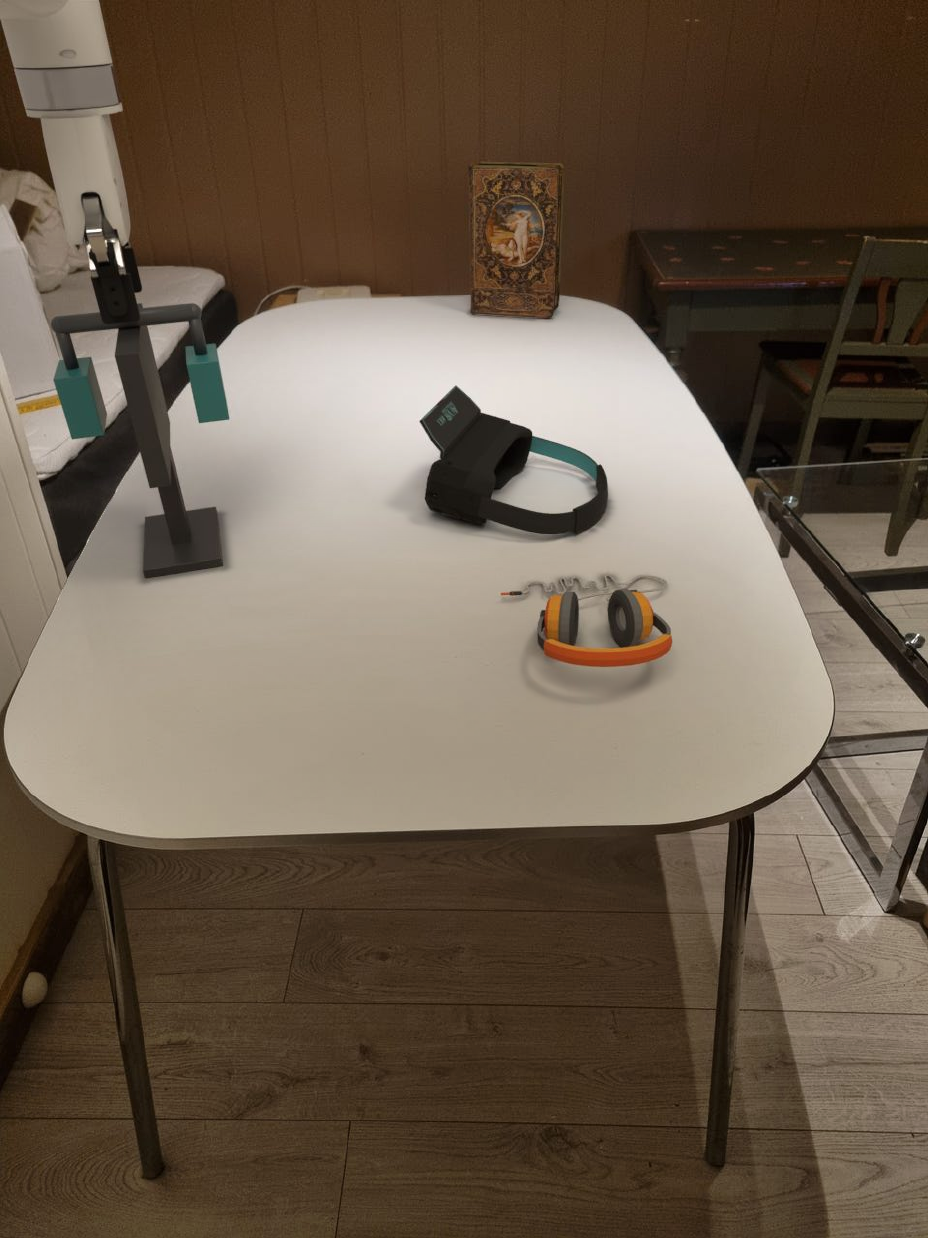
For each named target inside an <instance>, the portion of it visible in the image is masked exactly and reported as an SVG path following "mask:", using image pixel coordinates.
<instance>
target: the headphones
mask: <svg viewBox="0 0 928 1238" xmlns="http://www.w3.org/2000/svg"><path fill="white" fill-rule="evenodd" d="M607 577H608V578H610V580H611V581H612V582H613V583H614V584H616V585H618V586H628V585H631V584H633V583H634V582H635V581H636V580H638V579H640V578H652V579H656V580H659V581H661V582H663V583H664V585H663V586H661V587H659V588H652V589H645V590H644V589H641V590H638V589H629V588H619V589H615V590H614V591H609V592H604V591H608V590H609V589H610V586H609V582H608V578H607ZM603 578H604V582H605V587H604V588H600V587H599V586H598V583H597V581H596V580H588V581H587V582H586V586H584V585H583V584H584V583H583V581H582V579H581V578H580V577H579V576H571V577H570V584H568V582H567V579H566V578H565V577H560V578H559V579H558V581H559V584H560V586H561V588H562V590H563V591H562V592H560V591H559V587H558V586H557V585H558V584H556V582H553V581H550V582H549V588H550V589H548V588H547V585H546V584H545V583H544V582H543V581H540V580H535V581H534V580H533V581H532V580H531V581H529V582H527V583H526V586H525V588H526V590H525V591H521V590H514V591H513V590H512V591H508V592H500V596H511V597H514V596H522V595H526V594H528V593H529V592H530V587H529V586H530V585H531V584H539V585H542V586H543V589H544V592H545V593H552V592H553V591H554V588H555V592H556V593H557V594H554V595H551V596H550V597H549V599H547V602H546V605H545V609H542V610H540V613H539V619H538V622H537V629H536V630H537V631H536V635H537V638H536V639H537V645H538V647H540V649H541V650H542V651H543V653H544V655H545V656H546V657H549V658H550V659H553V660H555V661H558V662H562V663H565V664H569V665H575V666H580V667H592V668H615V667H617V668H618V667H629V666H630V667H631V666H637V665H642V664H645V663H646V664H647V663H649V662H652V661H656V660H658V659H660V658H662V657H663V656H665V655H666V654H668V653H669V652H670V651H671V648H672V644H673V637H672V631H671V630H672V628H671V627H670V625H669V623H668V622H667V621H665V619H663V618H662V617H661V616H660V615H659V614H657V613H656V612H654V610H653V607H652V606H651V605H652V604H651V603H650V601H649V599H648V598H647V597H646V596H645V594H644V593H654V592H657V591H658V592H659V591H663V590H664V589H666V588H667V587H668V581H667V580H666V579H665V578H662V577H659V576H656V575H651V574H640V575H636V577H634V578H633V579H632V580H630V581H628V582H618V581H617V580H616V579H615V578H614V577H613V576H612V575H611V574H605V575H604V576H603ZM574 580H577V581H578V582H579V585H580V587H581V589H582V590H589V588H590V584H594V587H595V589H596V590H597V591H599V593H593V594H589V595H584V596H581V597H578V595H577V593H576V592H575V591H570V590H569V591H568V590H567V589H566V587H573V586H574V584H575V583H574ZM553 586H554V587H553ZM565 586H566V587H565ZM599 596H605V600H606V602H608V603H607V621H608V626H609V630H610V632H611V635H612V637H613V638H614V640H615V641H616V642H617V643H618V645H620V646H621V647H614V648H598V647H597V648H596V647H595V648H594V647H582V646H577V645H576V642H577V638H578V631H579V619H580V604H579V601H582V600H585V599H589V598H594V597H599ZM653 628H655V629H657V630H658V631H659V632H660V633H661V634H662V635H660V636H659V637H658V638H656V639H654V640H652V641H649V642H646V643H642V644H639V642H641V641H643V640H645V639H647V638H649V637H650V635H651V634H652V632H653ZM543 631H544V634H543ZM638 644H639V645H638Z"/></svg>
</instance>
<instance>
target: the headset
mask: <svg viewBox="0 0 928 1238" xmlns="http://www.w3.org/2000/svg"><path fill="white" fill-rule="evenodd" d="M138 309H139V313H140V319H139V320H138V321H136V322H126V323H116V324H105V323H103V321H102V318H101V315H100V311H98V312H88V313H86V312H85V313H76V314H67V315H58V316H54V317H53V318H52V319H51V320H50V327H51V330H52V331H53V332H54V333H55V337H56V340H57V343H58V346H59V350H60V354H61V357H62V359H59V360H58V362H57V366H56V369H55V372H54V376H53V384H54V386H55V390H56V393H57V396H58V400H59V403H60V406H61V409H62V413H63V416H64V419H65V422H66V426H67V428H68V430H69V435H70V438H71V440H80V439H88V438H94V437H102V436H103V437H104V436H105V431H106V426H107V425H106V424H107V418H108V411H107V408H106V405H105V402H104V398H103V394H102V392H101V387H100V382H99V380H98V376H97V373H96V369H95V366H94V362H93V359H92V356H86V357H84V356H83V357H77V354H76V351H75V350H76V349H75V348H74V343H73V340H72V337H71V334H80V333H90V332H98V331H111V330H118V329H120V328H130V327H140V326H147V327H149V326H157V325H158V326H159V325H167V324H169V325H170V324H180V323H186V322H187V323H188V328H189V331H190V337H191V340H192V345H187V346H185V348H184V349H185V366H186V369H187V370H186V371H187V374H188V379H189V383H190V388H191V392H192V393H191V394H192V398H193V402H194V407H195V411H196V417H197V421H198V424H205V423H206V424H207V423H211V422H212V423H213V422H221V421H229V420H230V414H229V413H230V412H229V407H228V400H227V396H226V395H227V394H226V390H225V385H224V380H223V373H222V369H221V364H220V359H219V354H218V349H217V344H216V343H206V338H205V333H204V328H203V323H202V314H203V313H202V308H201V307H200V306H199V305H198V304H196V303H193V302H190V303H189V302H188V303H179V304H168V305H158V306H148V307H143V308H138Z"/></svg>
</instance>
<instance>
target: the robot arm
mask: <svg viewBox="0 0 928 1238" xmlns="http://www.w3.org/2000/svg"><path fill="white" fill-rule="evenodd" d="M0 22H1V26H2V30H3V33H4V34H3V35H4V37H5V41H6V45H7V48H8V51H9V56H10V58H11V59H10V60H11V63H12V66H13V68H14V69H13V70H14V74H15V77H16V82H17V84H18V88H19V93H20V96H21V99H22V103H23V106H24V110H25V113H26V116H27V117H28V118H33V119H34V118H35V119H40V123H41V129H42V136H43V140H44V147H45V151H46V155H47V159H48V164H49V169H50V172H51V177H52V182H53V186H54V190H55V193H56V197H57V201H58V205H59V209H60V213H61V218H62V222H63V226H64V230H65V234H66V239H67V244H68V246H69V247H70V248H71V249H73V250H75V251H79V250H80V249H81V246H82V245H83V244H84V245H85V248H86V254H87V260H88V264H89V270H90V275H91V276H90V281H91V284H92V289H93V292H94V296H95V299H96V304H97V307H98V310H99V311H98V312H100V315H101V318H102V321H103V323H105V324H116V323H126V322H136V321H138V320H139V319H140V313H139V309H138V305H137V304H138V302H137V297H136V293H137V294H139V293H141V292H142V291H143V285H142V281H141V276H140V271H139V267H138V263H137V259H136V254H135V250H134V247H131V241H130V235H131V227H132V226H131V218H130V217H131V216H130V210H129V204H128V203H129V202H128V197H127V191H126V185H125V179H124V175H123V170H122V165H121V161H120V156H119V152H118V147H117V142H116V138H115V133H114V130H113V126H112V125H113V124H112V121H111V117H110V115H113V114H118V113H121V112H123V111H124V109H123V108H124V107H123V103H122V99H121V94H120V90H119V89H120V88H119V85H118V81H117V76H116V72H115V67H114V64H113V58H112V55H111V50H110V45H109V41H108V36H107V32H106V31H107V30H106V27H105V22H104V18H103V13H102V8H101V4H100V0H0Z"/></svg>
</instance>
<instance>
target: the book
mask: <svg viewBox="0 0 928 1238" xmlns="http://www.w3.org/2000/svg"><path fill="white" fill-rule="evenodd" d="M467 166H468V167H467V168H468V169H467V170H468V216H469V218H468V219H469V223H468V224H469V225H468V226H469V227H468V228H469V277H470V279H469V280H470V281H469V282H470V286H469V287H470V313H471V314H472V315H474V316H475V315H476V316H492V317H493V316H494V317H507V318H508V317H509V318H521V319H522V318H523V319H551V318H552V317H553V315H554V312H555V311H556V310H558V307H559V305H560V293H561V289H560V288H561V269H562V267H561V265H562V242H563V241H562V238H563V215H564V214H563V212H564V189H565V188H564V183H565V167H564V165H563V164H562V163H559V162H558V163H556V162H553V163H552V162H512V161H511V162H510V161H509V162H506V161H505V162H504V161H503V162H502V161H476V162H471V163H469V164H468V165H467Z"/></svg>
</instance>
